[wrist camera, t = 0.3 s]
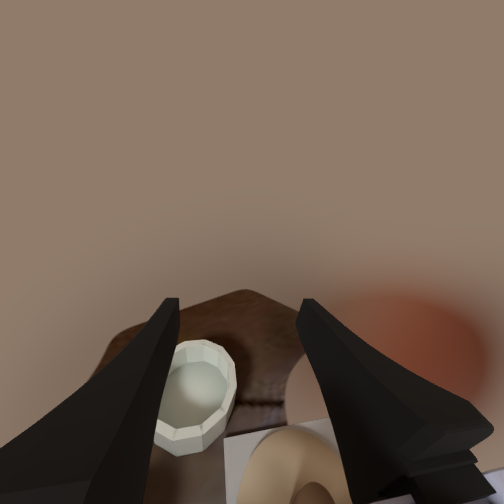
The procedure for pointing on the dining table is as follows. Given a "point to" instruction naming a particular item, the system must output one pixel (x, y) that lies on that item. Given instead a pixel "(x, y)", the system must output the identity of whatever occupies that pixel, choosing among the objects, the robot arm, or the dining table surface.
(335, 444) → the mat
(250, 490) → the lid
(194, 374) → the bowl
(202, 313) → the dining table surface
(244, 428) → the dining table surface
